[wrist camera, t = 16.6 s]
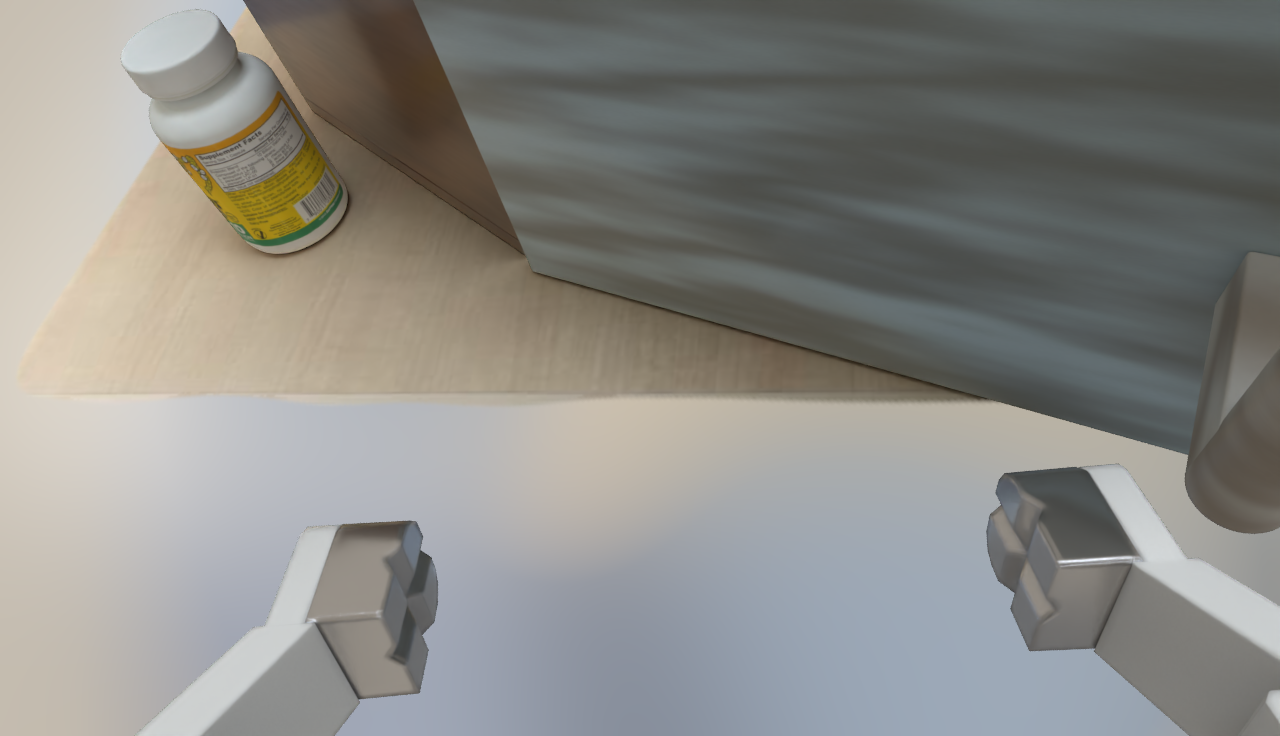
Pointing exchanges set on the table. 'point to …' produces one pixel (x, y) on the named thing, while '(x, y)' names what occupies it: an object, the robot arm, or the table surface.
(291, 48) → the cupboard
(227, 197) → the supplement bottle
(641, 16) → the cupboard door
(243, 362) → the table surface
